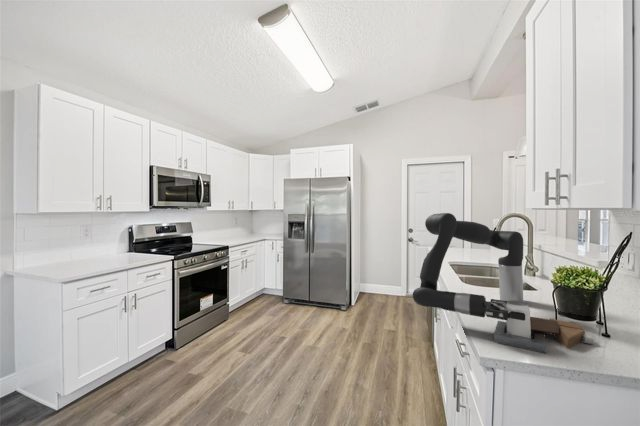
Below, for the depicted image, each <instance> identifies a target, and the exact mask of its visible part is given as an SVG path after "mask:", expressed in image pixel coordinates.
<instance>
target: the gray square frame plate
mask: <svg viewBox="0 0 640 426" xmlns="http://www.w3.org/2000/svg"><path fill="white" fill-rule="evenodd" d="M545 335H546V334H544V332H541V331H532V330H531V338H527V337H522V336H517V335H512V334H507V324H506V321H501V320H498V321H497V323H496V326H495V329H494V333H493V342H494V343H496V342H497V343H498V344H502V345H506V346H510V347H516V348H520V349H524V350H530V351H533V352H538V353H542V354H547V352H546V349H547V348H546V345H547V344H546V337H545ZM497 343H496V344H497Z"/></svg>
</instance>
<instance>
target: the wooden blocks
mask: <svg viewBox="0 0 640 426" xmlns="http://www.w3.org/2000/svg"><path fill="white" fill-rule="evenodd" d="M530 325H531V330H532V331H541V332H544V335H554V337H555V338H556V339H557V340H558V341H559V343H561V345H562V346H563V347H564V348H565V349H570V348H572V347H574V346H576V345H578V344H580V343H583V344H587V345H594V343H595V339H594V337H592V336H589V335H586V330H585V329H584V328H583V327H582V326H581V325H580V324H579V323H575V322H574V323H573V322H570V321H566V320H559V319H555V318H551V317H550V318H542V317H535V316H530Z"/></svg>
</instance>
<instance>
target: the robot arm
mask: <svg viewBox="0 0 640 426" xmlns="http://www.w3.org/2000/svg"><path fill="white" fill-rule="evenodd" d="M424 224H425V229H426V231H428V232H429V233H430V234H431V235H434V236H437V239H436V241H435V243H434V244H433V246H432V248H431V249H430V250H429V252H428V254H426V256H425V258H424V260H423V263H422V266H421V270H420V275H419V279H420V285H419V286H420V287H417V288H415V289H414V290H413V291H412V299H413V301H414V302H415V303H416V305H419V306H421V307H425V308H429V307H430V308H436V309H437V308H438V309H441V310H444V311H448V312H449V311H450V312H455V313H459V314H463V315H467V316H468V315H469V316H473V317H478V318H479V317H480V318H485V317H487V318H492V319H497V320H500V321H501V320H503V321H506V320H508V319H511V318H512V319H517V320H523V321H524V320H525V314H524V313H521V312H514V311H511V312H510V311H509V310H506V305H507V301H509V300H516V301H522V302H524V282H523V281H524V280H523V260H524V238H523V235H522V233H521V232H520V231H510V230H509V231H508V230H492V229H490V228H489V227H488V226H487V225H485V224H483V223H479V222H474V221H467V220H457V218H456V216H455V215H454V214H453V213H449V212H442V213H433V214H431V215H429V216H428V217H427V218H426V219H425V222H424ZM453 238H456V239H458V240H462V241H465V242H468V243H472V244H479V245H487V246H490V247H493V248H495V249H499V250H502V251H507V252H508V253H507V255H505V256H502V257H499V258H498V283H499V286H498V287H499V288H498V289H499V299H494V298H490V301H487V300H486V299H487V298H486V296H485V295H484V294H483V295H482V294H473V293H467V292H453V291H446V290H444V291H443V290H438V281H439V277H440V273H441V269H442V265H443V261H444V258H445V256H446V254H447V251H448V249H449V247H450V245H451V242H452V240H453Z"/></svg>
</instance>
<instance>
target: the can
mask: <svg viewBox="0 0 640 426" xmlns="http://www.w3.org/2000/svg"><path fill="white" fill-rule="evenodd" d="M506 310H509V311H510V312H511V311H514V312H521V313H524V314H525V320H524V321H523V320H517V319H512V318H511V319H508V320H505V322H506V324H507V332H506V333H507V334H512V335H517V336H522V337H527V338H532V337H531V325H530V317H531V310H530V306H529V304H528V303H527V302H526V301H523V302H522V301H516V300H509V301H507V305H506Z"/></svg>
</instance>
